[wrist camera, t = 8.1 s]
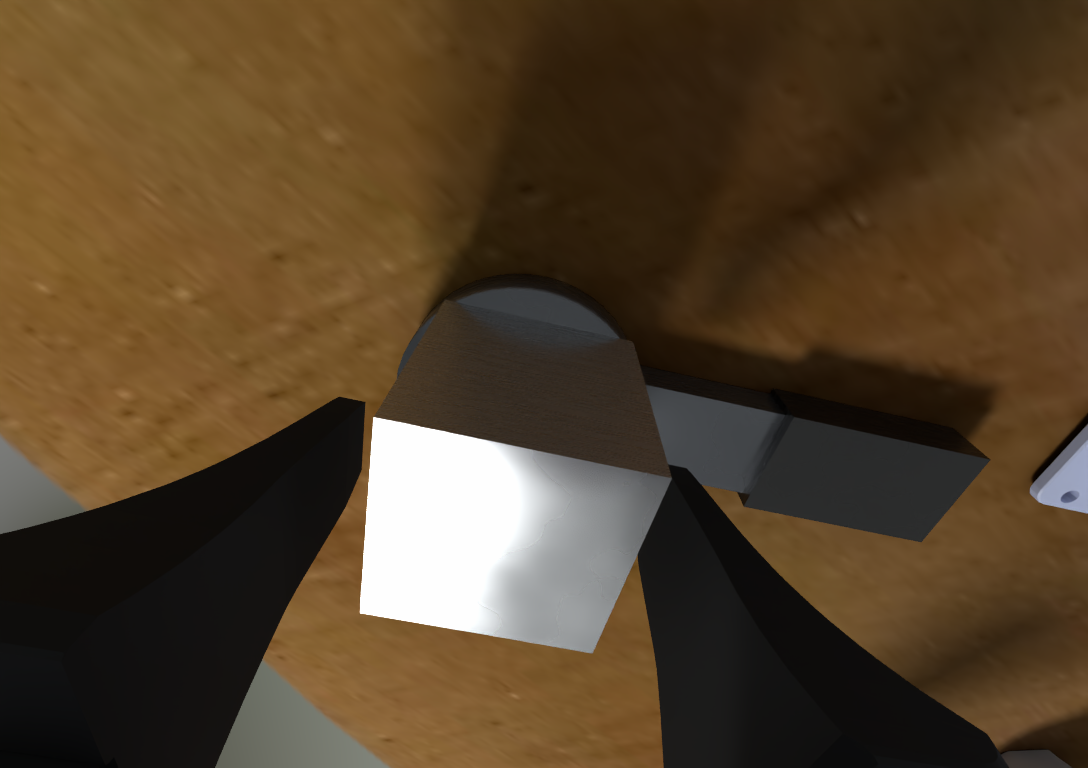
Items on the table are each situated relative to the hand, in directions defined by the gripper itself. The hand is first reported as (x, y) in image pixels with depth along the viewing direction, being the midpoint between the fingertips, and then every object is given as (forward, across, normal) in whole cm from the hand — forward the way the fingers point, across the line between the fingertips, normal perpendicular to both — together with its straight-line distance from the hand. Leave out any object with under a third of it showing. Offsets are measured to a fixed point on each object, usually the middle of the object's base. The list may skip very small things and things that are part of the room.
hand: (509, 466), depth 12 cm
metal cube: (+3, 0, 0) cm, 3 cm away
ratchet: (+4, -5, 0) cm, 7 cm away
